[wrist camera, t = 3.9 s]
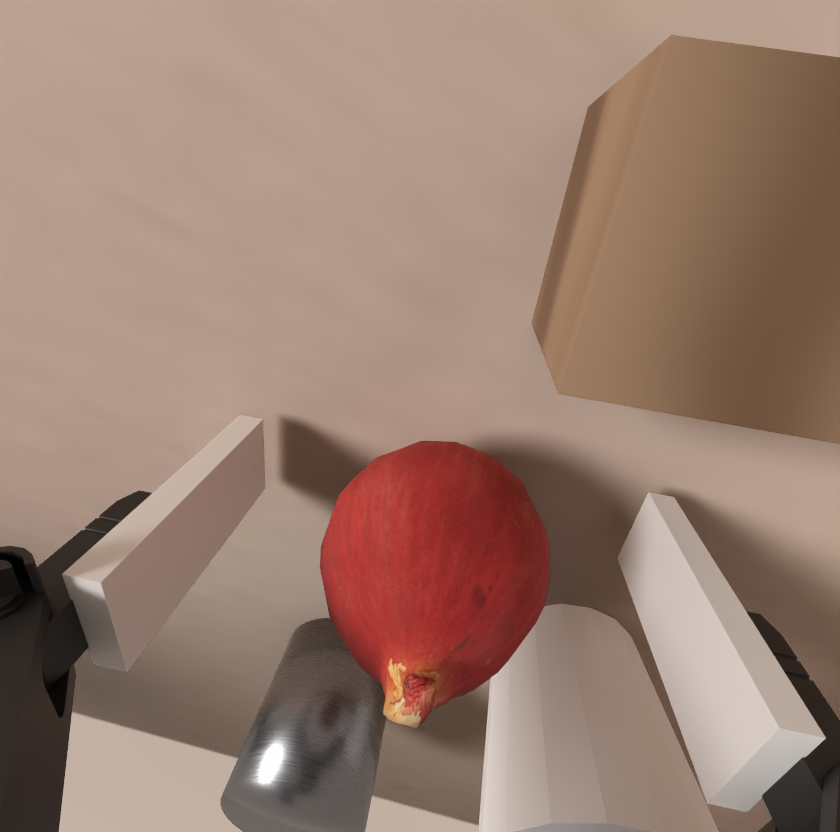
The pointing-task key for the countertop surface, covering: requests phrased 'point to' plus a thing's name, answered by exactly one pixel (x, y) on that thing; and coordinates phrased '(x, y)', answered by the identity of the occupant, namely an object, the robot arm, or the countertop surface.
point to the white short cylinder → (583, 737)
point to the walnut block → (704, 242)
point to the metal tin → (310, 742)
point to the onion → (433, 572)
